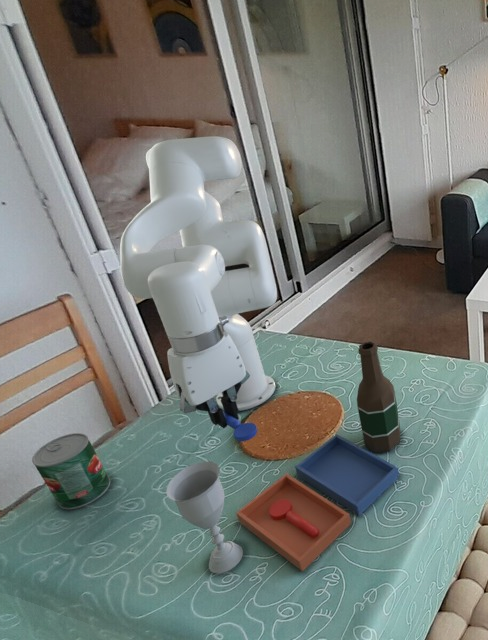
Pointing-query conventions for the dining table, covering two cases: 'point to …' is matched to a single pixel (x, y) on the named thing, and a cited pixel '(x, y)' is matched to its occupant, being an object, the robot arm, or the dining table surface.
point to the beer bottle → (376, 403)
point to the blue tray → (347, 473)
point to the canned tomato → (72, 470)
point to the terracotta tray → (286, 534)
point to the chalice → (205, 509)
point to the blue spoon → (240, 428)
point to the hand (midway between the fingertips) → (226, 420)
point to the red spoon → (291, 517)
